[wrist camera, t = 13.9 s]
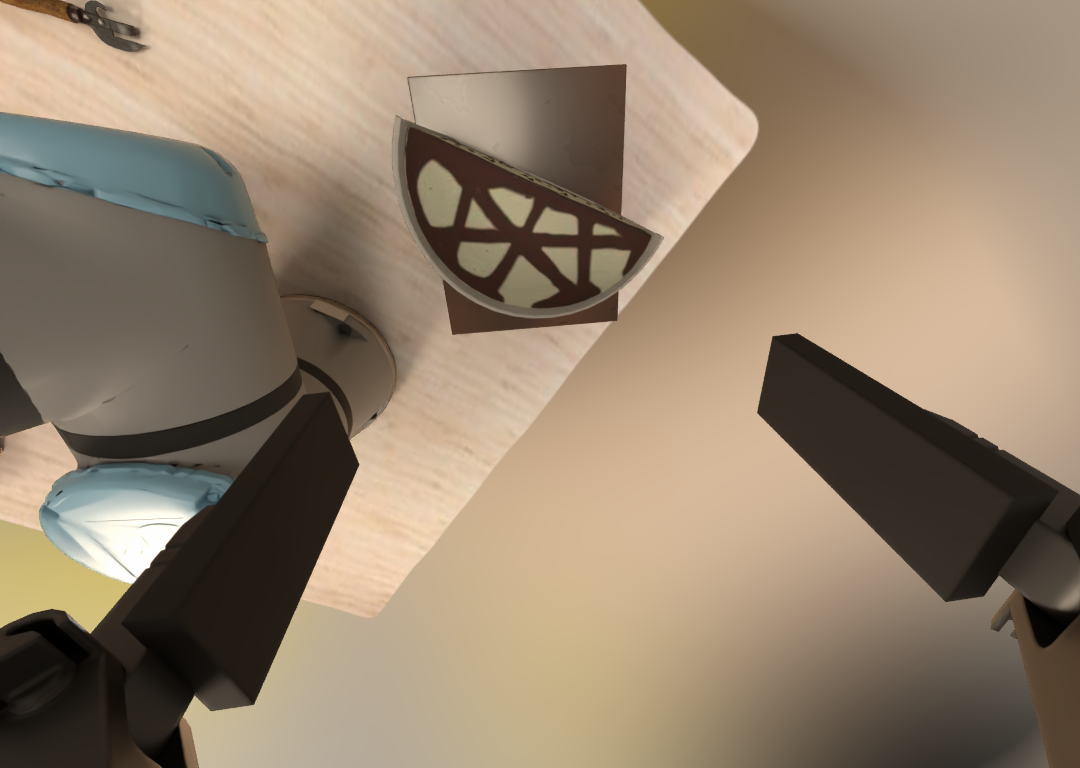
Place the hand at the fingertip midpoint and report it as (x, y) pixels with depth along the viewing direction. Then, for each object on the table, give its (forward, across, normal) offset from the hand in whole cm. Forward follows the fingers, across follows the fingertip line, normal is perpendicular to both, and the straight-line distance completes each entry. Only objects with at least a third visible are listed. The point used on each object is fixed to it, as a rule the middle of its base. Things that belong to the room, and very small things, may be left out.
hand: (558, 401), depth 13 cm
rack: (+29, +1, +3) cm, 29 cm away
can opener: (+30, -29, +18) cm, 45 cm away
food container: (+18, -1, +3) cm, 18 cm away
